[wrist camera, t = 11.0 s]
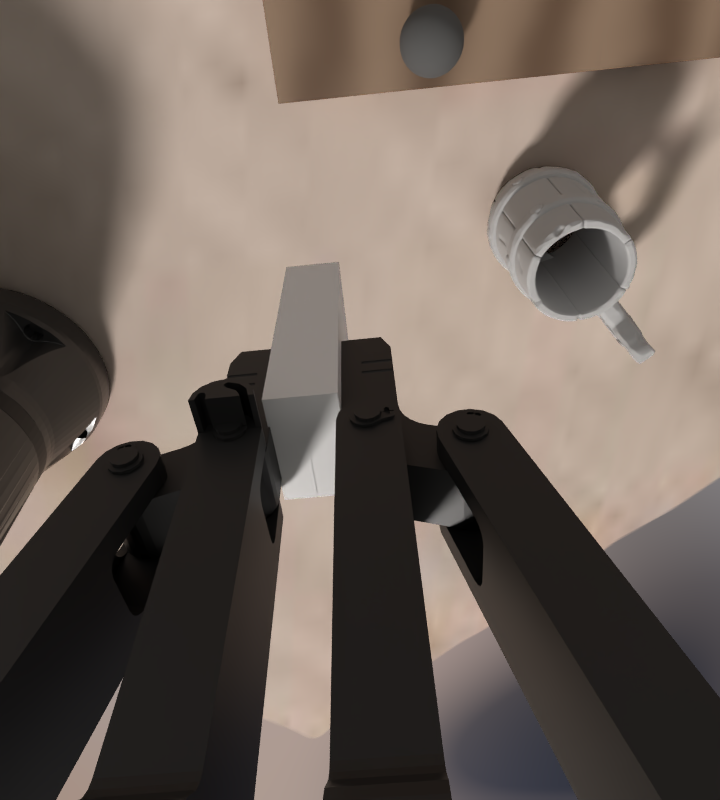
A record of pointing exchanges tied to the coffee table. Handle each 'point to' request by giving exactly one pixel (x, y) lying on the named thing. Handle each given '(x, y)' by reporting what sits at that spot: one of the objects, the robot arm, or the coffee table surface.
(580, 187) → the mug
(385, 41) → the deck
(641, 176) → the coffee table surface
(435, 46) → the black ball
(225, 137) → the coffee table surface
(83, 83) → the coffee table surface
